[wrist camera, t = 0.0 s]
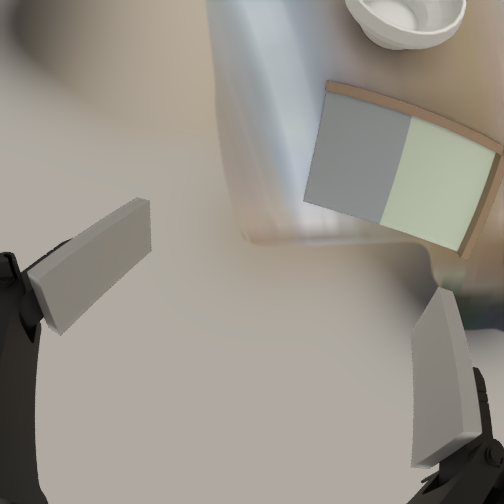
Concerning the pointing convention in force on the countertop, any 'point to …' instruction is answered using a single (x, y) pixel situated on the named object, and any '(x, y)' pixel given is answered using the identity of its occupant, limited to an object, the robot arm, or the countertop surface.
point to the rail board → (403, 168)
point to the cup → (408, 21)
